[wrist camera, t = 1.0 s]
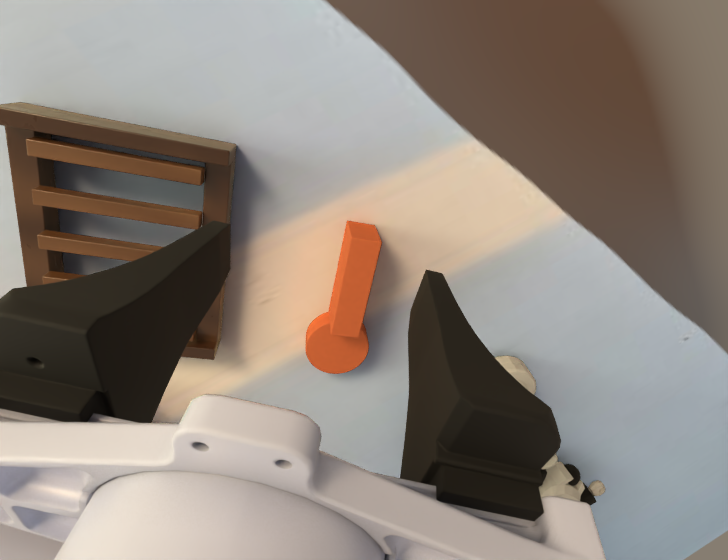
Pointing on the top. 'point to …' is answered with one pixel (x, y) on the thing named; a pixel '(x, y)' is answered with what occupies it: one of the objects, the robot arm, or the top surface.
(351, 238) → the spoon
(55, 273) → the rack
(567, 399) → the top surface
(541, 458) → the robot arm
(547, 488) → the robot toy
